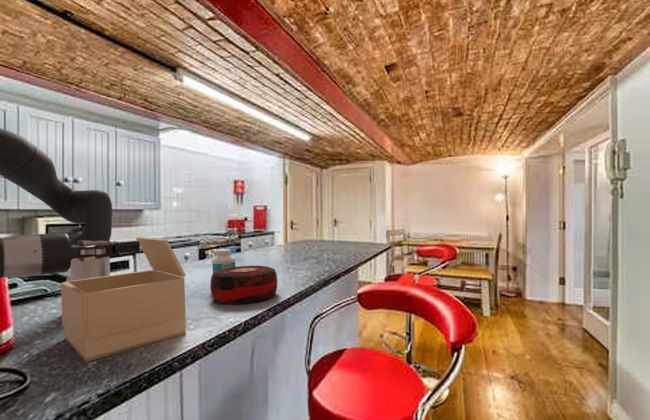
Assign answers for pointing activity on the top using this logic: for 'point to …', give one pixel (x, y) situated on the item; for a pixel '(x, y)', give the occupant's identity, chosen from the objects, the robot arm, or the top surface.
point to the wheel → (243, 284)
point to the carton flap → (161, 255)
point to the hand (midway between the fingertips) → (138, 245)
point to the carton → (122, 312)
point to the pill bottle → (223, 260)
